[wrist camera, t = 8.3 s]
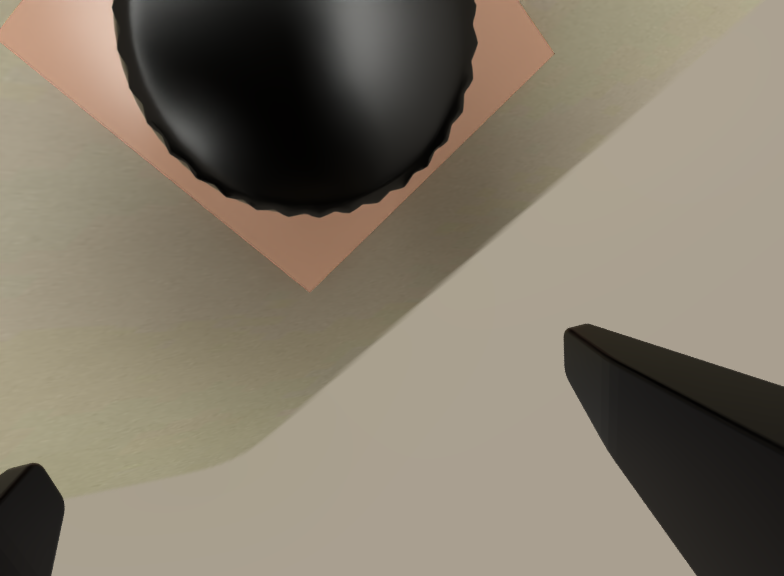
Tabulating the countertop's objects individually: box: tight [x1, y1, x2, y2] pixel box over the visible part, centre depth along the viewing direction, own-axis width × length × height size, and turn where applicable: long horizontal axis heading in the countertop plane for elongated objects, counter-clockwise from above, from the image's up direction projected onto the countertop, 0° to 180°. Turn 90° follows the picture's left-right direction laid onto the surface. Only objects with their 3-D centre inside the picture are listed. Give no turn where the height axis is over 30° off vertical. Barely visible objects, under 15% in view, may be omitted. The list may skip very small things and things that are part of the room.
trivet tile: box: [0, 0, 555, 293], centre depth 18 cm, size 13×13×1 cm
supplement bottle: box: [112, 0, 478, 218], centre depth 12 cm, size 7×7×12 cm
